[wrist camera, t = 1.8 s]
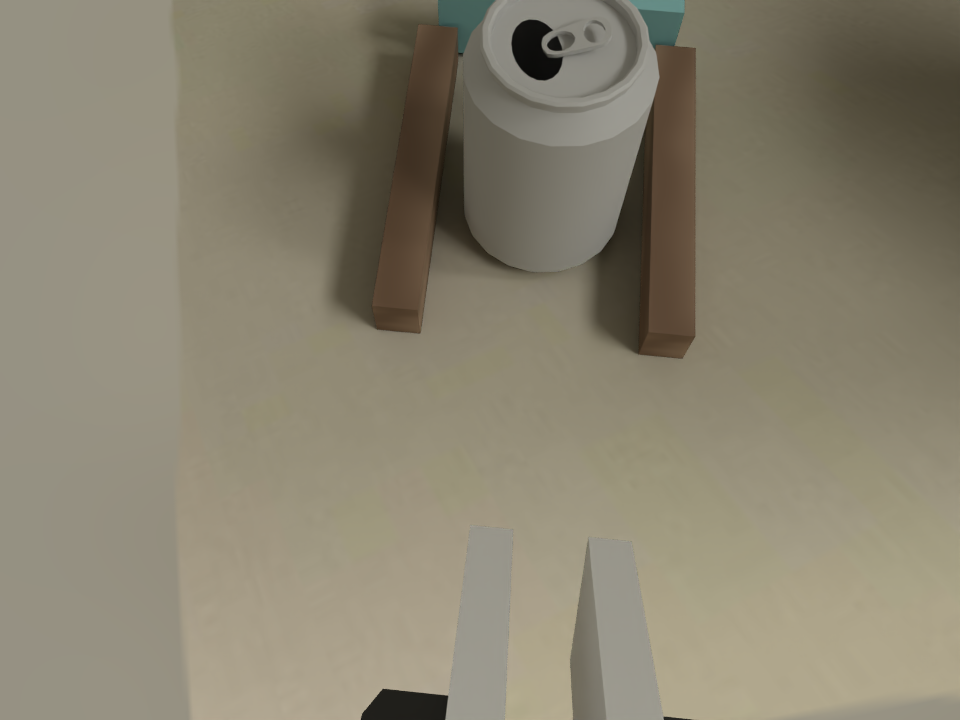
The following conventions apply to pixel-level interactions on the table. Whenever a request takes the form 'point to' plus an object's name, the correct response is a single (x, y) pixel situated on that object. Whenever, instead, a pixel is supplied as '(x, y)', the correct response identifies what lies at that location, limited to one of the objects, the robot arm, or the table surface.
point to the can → (553, 126)
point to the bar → (656, 3)
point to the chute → (663, 196)
